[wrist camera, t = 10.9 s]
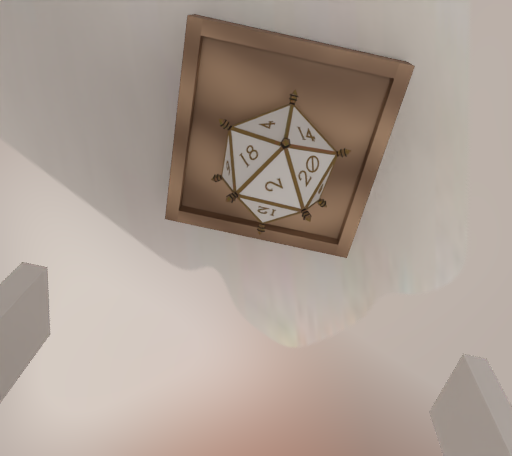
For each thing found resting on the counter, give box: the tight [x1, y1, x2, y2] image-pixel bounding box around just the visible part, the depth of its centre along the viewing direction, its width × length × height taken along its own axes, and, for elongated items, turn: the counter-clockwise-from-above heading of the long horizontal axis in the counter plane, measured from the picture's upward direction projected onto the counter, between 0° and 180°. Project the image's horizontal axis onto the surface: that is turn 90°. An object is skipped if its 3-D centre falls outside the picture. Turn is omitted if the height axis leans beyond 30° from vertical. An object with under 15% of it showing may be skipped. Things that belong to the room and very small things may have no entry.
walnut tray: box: [165, 14, 415, 258], centre depth 33 cm, size 15×15×2 cm
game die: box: [211, 89, 351, 235], centre depth 29 cm, size 9×8×10 cm
